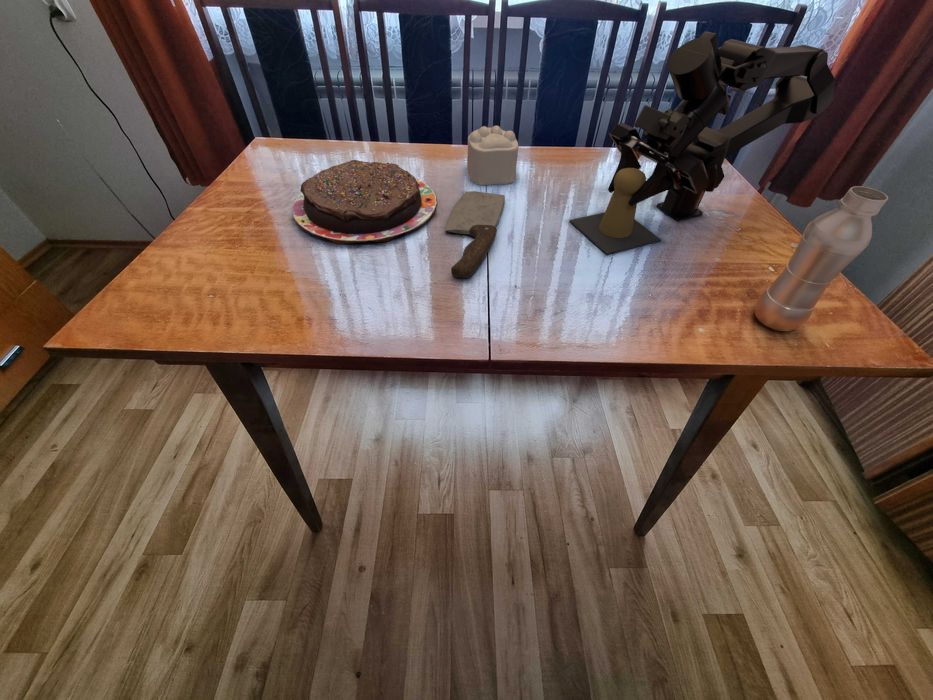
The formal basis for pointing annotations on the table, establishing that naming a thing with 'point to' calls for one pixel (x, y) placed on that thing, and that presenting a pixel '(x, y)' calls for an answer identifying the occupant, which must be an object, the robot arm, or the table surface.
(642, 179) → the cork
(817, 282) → the plastic bottle
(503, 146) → the lumpy-topped squat cylinder
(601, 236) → the dark square mat
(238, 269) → the table surface
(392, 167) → the chocolate cake
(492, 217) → the cleaver
